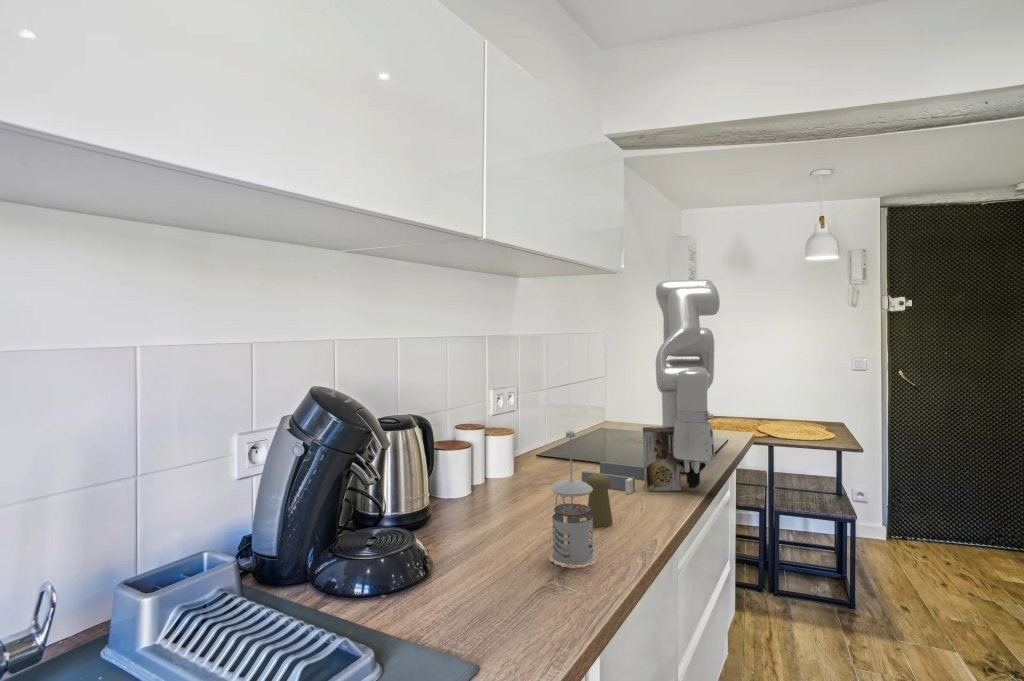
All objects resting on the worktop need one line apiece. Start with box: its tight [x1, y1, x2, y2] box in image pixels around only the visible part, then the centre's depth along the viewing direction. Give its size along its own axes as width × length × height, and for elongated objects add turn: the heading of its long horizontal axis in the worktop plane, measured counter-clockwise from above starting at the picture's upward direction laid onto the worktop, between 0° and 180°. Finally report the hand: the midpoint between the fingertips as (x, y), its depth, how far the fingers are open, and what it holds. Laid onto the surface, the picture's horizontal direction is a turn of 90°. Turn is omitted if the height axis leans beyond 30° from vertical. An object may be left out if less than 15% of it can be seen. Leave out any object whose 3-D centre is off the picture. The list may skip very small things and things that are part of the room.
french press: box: [550, 430, 597, 565], centre depth 118 cm, size 10×12×25 cm
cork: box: [585, 474, 614, 528], centre depth 137 cm, size 6×6×11 cm
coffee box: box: [642, 426, 682, 492], centre depth 162 cm, size 9×6×16 cm
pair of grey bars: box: [581, 461, 645, 495], centre depth 170 cm, size 18×15×4 cm
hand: (693, 486), depth 158 cm, fingers closed
